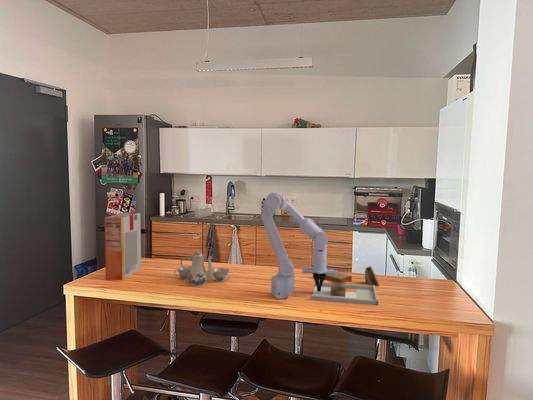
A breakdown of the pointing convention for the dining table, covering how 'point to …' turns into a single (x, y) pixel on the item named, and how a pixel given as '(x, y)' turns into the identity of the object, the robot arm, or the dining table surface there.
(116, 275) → the pasta box
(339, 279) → the carton
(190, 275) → the chinaware
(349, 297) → the trap tray
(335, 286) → the walnut block
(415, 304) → the dining table surface
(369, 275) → the rock
